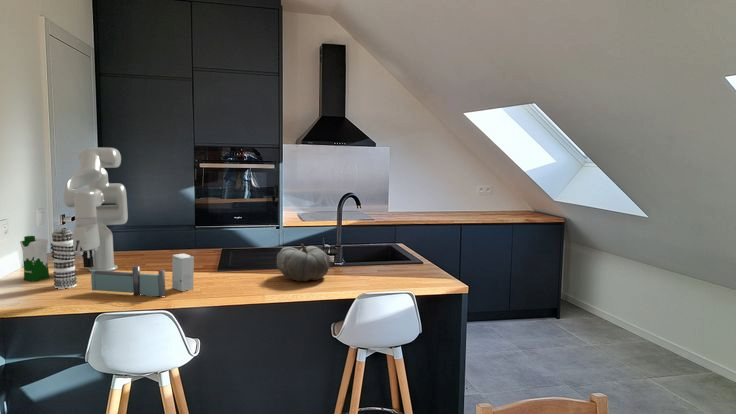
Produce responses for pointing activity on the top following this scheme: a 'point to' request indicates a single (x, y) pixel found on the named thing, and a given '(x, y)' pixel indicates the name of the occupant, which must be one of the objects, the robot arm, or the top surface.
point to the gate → (112, 281)
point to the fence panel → (153, 284)
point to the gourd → (303, 263)
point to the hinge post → (136, 280)
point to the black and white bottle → (63, 259)
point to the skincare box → (182, 272)
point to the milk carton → (35, 258)
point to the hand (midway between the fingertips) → (88, 266)
